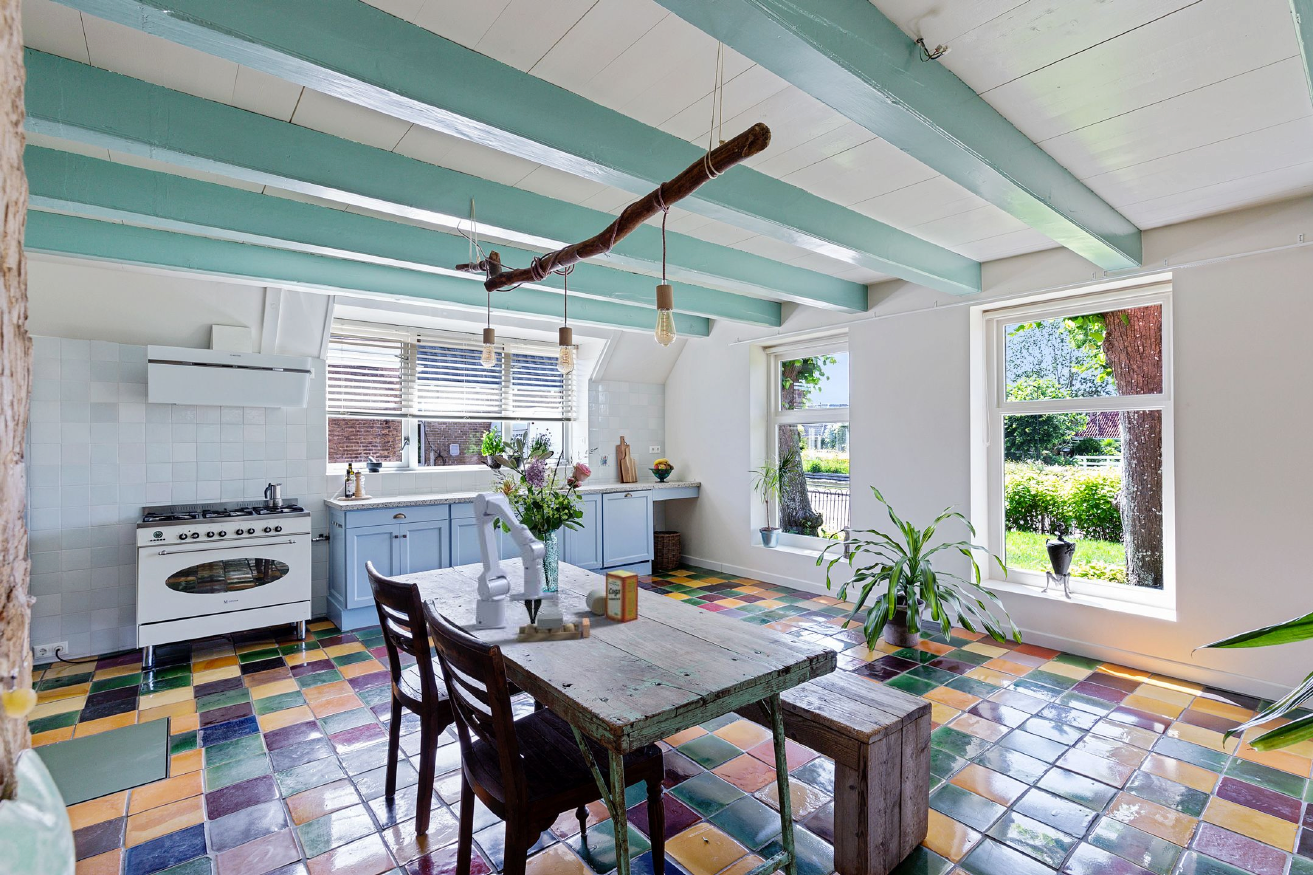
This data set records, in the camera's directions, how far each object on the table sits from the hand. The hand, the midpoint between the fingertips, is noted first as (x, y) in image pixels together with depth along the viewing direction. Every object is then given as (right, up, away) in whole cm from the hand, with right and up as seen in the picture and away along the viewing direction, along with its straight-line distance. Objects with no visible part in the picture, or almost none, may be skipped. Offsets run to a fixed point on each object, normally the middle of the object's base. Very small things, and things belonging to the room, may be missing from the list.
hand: (532, 623), depth 199 cm
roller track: (+5, -4, +1) cm, 7 cm away
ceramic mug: (+19, -4, +28) cm, 34 cm away
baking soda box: (+27, -5, +20) cm, 34 cm away
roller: (+12, -4, +2) cm, 12 cm away
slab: (+5, -1, +1) cm, 5 cm away
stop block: (+16, -4, +3) cm, 17 cm away
